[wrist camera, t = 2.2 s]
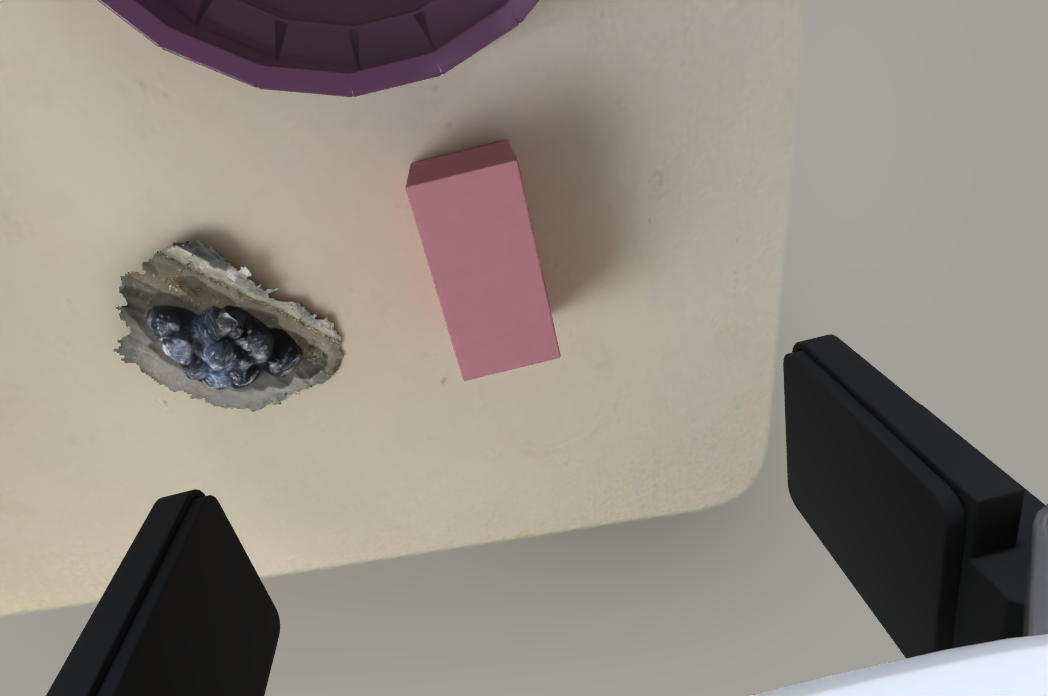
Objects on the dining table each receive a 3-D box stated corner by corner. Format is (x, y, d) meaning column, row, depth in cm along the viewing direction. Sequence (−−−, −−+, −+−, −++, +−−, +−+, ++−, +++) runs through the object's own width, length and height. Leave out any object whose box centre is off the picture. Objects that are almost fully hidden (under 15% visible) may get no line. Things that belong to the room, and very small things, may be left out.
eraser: (410, 163, 24) (404, 186, 21) (507, 139, 24) (517, 159, 21) (461, 338, 27) (463, 381, 24) (547, 317, 27) (560, 358, 24)
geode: (130, 217, 24) (105, 233, 22) (362, 274, 25) (356, 293, 24) (118, 382, 26) (95, 408, 25) (328, 423, 28) (321, 450, 26)
